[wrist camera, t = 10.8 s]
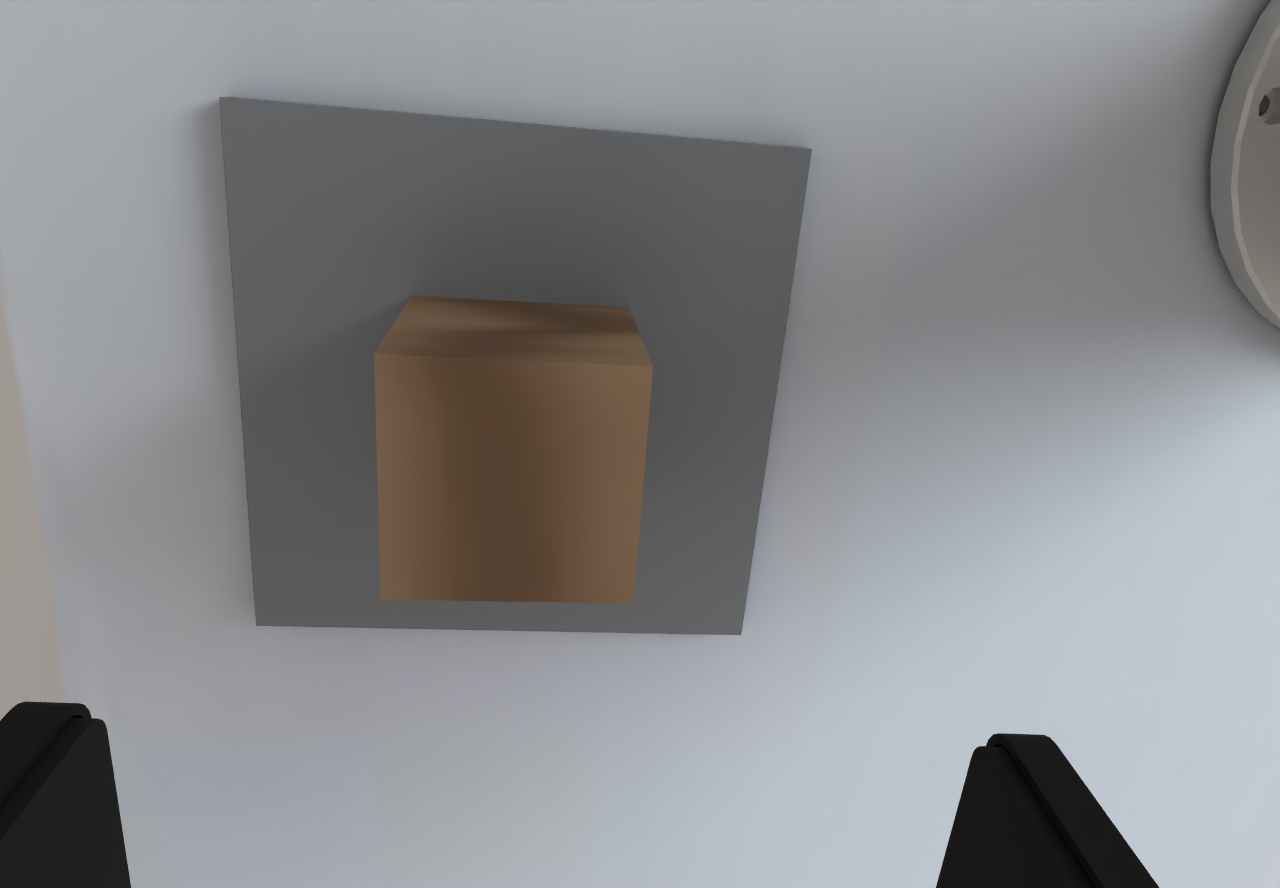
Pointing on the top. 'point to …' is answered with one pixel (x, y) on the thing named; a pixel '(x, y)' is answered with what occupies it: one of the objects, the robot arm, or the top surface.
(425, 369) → the walnut block
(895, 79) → the top surface
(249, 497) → the slate coaster
